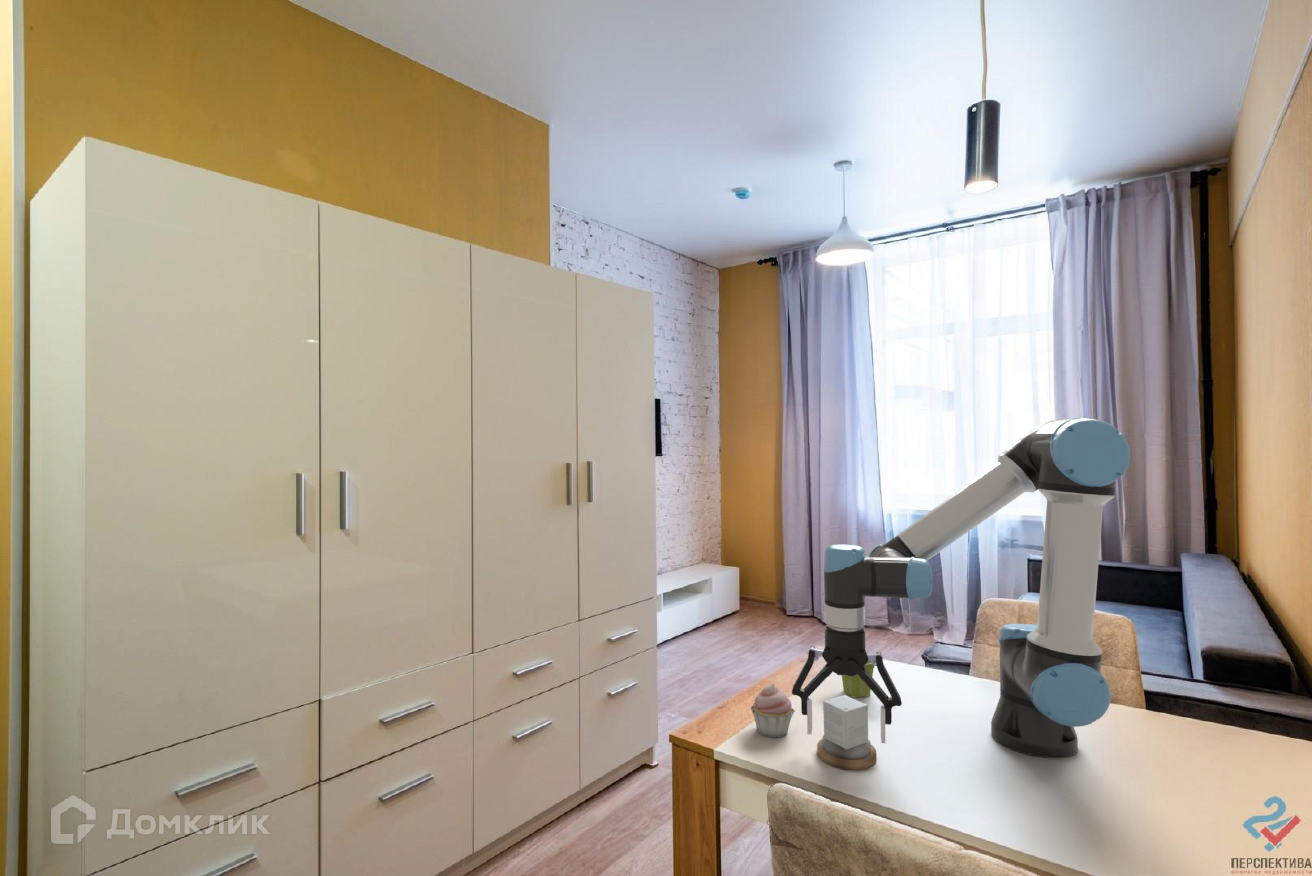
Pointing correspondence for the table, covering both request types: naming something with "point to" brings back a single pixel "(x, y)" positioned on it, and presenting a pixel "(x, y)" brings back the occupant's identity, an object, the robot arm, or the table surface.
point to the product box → (845, 722)
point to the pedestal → (846, 755)
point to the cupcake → (772, 712)
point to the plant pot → (857, 683)
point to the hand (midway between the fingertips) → (845, 735)
